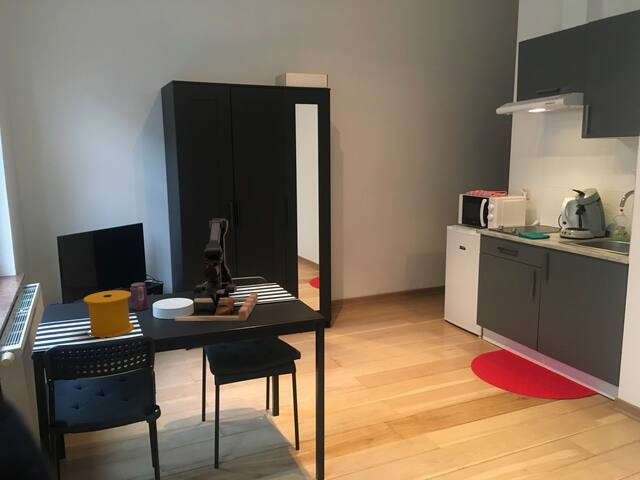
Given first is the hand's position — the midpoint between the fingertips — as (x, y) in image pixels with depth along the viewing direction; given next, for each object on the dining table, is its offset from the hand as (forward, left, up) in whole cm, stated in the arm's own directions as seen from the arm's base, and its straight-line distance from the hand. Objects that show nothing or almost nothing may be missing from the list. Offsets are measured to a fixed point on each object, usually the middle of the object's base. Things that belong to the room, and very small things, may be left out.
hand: (216, 307), depth 240 cm
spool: (+27, -37, -2) cm, 46 cm away
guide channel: (0, +1, -2) cm, 2 cm away
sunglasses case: (-1, +4, -2) cm, 4 cm away
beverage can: (-3, -37, -2) cm, 38 cm away
